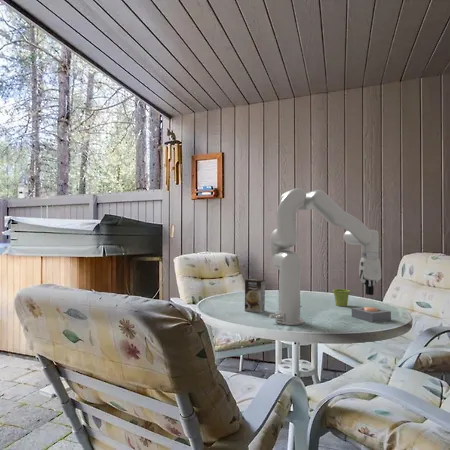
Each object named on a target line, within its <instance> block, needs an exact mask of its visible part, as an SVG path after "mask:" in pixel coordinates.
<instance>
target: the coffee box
mask: <svg viewBox="0 0 450 450" xmlns="http://www.w3.org/2000/svg"><path fill="white" fill-rule="evenodd" d="M265 300H266V280H265V279H259V278H258V279H257V278H256V279H255V278H246V279H244V311H245V312H251V313H252V312H253V313H259V314H261V313H263V312H265V311H266V307H265V305H266V301H265Z"/></svg>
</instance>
